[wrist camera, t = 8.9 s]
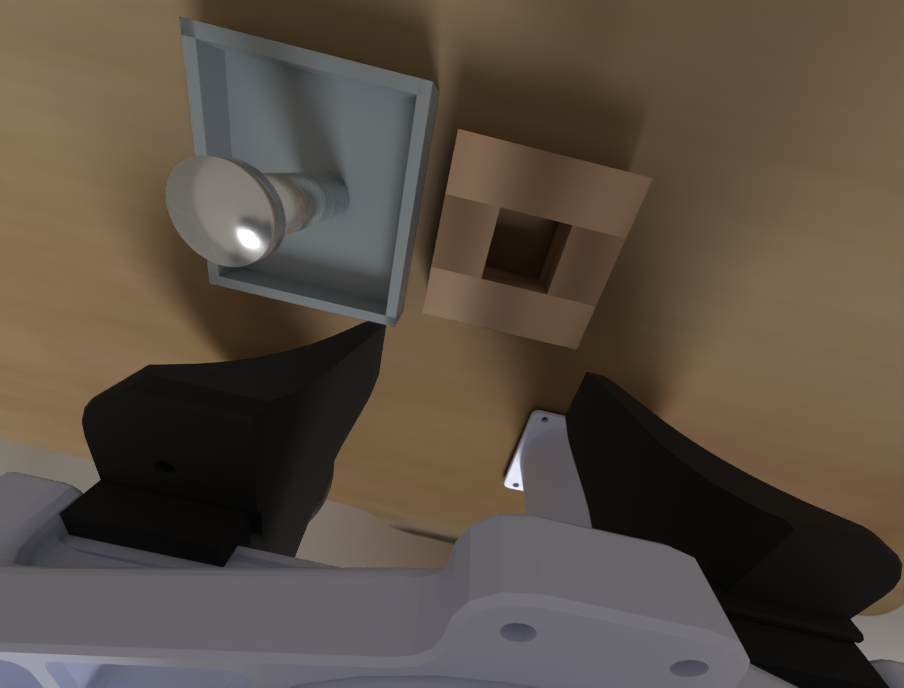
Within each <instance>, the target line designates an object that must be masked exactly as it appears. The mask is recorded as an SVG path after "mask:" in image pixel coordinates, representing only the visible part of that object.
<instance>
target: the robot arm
mask: <svg viewBox="0 0 904 688" xmlns="http://www.w3.org/2000/svg"><path fill="white" fill-rule="evenodd" d="M385 329H386V325H384V324H380V323H376V322H371V321H367V322H364V323H362V324H360V325H357V326H355V327H353V328H351V329H348V330H346V331H344V332H341V333H339V334H337V335H335V336H332V337H329V338H327V339H324V340H321V341H319V342H316V343H313V344H310V345H307V346H304V347H301V348H298V349H294V350H290V351H286V352H282V353H278V354H273V355H267V356H261V357H256V358H250V359H244V360H235V361H227V362H215V363H201V364H168V365H148V366H146V367H144V368H143V369H141V370H139V371H138V372H136V373H134V374H132V375H131V376H129V377H127V378H126V379H124V380H122V381H121V382H119V383H117V384H116V385H114V386H112V387H110V388H109V389H107V390H105V391H104V392H102V393H100V394H99V395H97V396H95V397H94V398H92V399H91V401H90V402H89V403H88V404H87V405H86V407H85V409H84V414H83V418H82V425H83V430H84V435H85V438H86V441H87V444H88V446H89V449H90V452H91V455H92V457H93V460H94V463H95V465H96V468H97V471H98V473H99V476H100V479H101V480H100V481H99V482H97V483H96V484H95V485H94V486H93V487H91V488H90V489H89V490H88V491H86V492H85V493H84V494H83V493H82V492H81V491H80V490H78V489H77V488H75V487H74V486H72V485H69V484H67V483H64V482H59V481H54V480H49V479H45V478H40V477H36V476H31V475H26V474H22V473H17V472H7V473H5V474H4V475H2V476H0V688H904V663H901V662H897V661H892V660H883V659H880V660H872V661H868V660H867V658H866V657H865V656H864V654H863V653H862V652H861V651H860V649H859V648H858V647H857V646H856V644H855V643H854V642H857V643H860V642H862V641H863V640H864V638H863V634H862V633H861V632H860V631H859V629H858V628H857V627H856V626H855V625H854V623H853V622H852V621H851V618H852V617H854V616H855V615H857V614H858V613H860V612H861V611H863V610H864V609H866V608H867V607H869V606H870V605H872V604H873V603H875V602H876V601H878V600H879V599H881V598H882V597H884V596H885V595H886V594H887V593H889V592H890V591H891V590H892V589H893V588H894V587H895V586H896V584H897V583H898V581H899V580H900V578H901V571H902V563H901V561H900V559H899V557H898V555H897V554H896V553H895V552H894V551H893V550H892V549H890V548H889V547H888V546H887V545H886V544H885V543H884V542H883V541H882V540H881V539H880V538H879V537H878V536H877V535H875V534H874V533H873V532H871V531H870V530H868V529H867V528H865V527H863V526H861V525H859V524H856V523H854V522H852V521H849V520H847V519H845V518H842V517H840V516H837V515H835V514H833V513H830V512H828V511H826V510H823V509H821V508H819V507H816V506H814V505H811V504H809V503H807V502H804V501H802V500H800V499H798V498H796V497H794V496H792V495H790V494H787V493H785V492H783V491H781V490H779V489H777V488H775V487H773V486H771V485H769V484H767V483H765V482H763V481H761V480H759V479H757V478H755V477H753V476H751V475H749V474H747V473H746V472H744V471H742V470H740V469H738V468H736V467H735V466H733V465H731V464H729V463H727V462H726V461H724V460H722V459H720V458H719V457H717V456H715V455H714V454H712V453H710V452H709V451H707V450H706V449H704V448H702V447H701V446H699V445H698V444H696V443H695V442H693V441H691V440H690V439H688V438H687V437H685V436H684V435H682V434H681V433H680V432H678V431H677V430H675V429H674V428H673V427H671V426H670V425H668V424H667V423H666V422H664V421H663V420H662V419H660V418H659V417H658V416H656V415H655V414H654V413H652V412H651V411H650V410H649V409H647V408H646V407H645V406H643V405H642V404H641V403H640V402H638V401H637V400H636V399H635V398H633V397H632V396H631V395H630V394H628V393H627V392H626V391H624V390H623V389H622V388H621V387H619V386H618V385H617V384H615V383H614V382H612V381H611V380H609V379H608V378H606V377H604V376H602V375H597V374H593V373H589V372H586V374H585V376H584V379H583V381H582V383H581V385H580V387H579V389H578V391H577V393H576V395H575V397H574V399H573V401H572V404H571V406H570V408H569V410H568V412H567V414H566V416H563V415H559V414H555V413H550V412H546V411H542V410H535V411H533V412H532V413H531V415H530V418H529V420H528V422H527V425H526V427H525V430H524V432H523V434H522V437H521V439H520V442H519V444H518V446H517V449H516V451H515V454H514V456H513V458H512V461H511V463H510V466H509V468H508V470H507V473H506V475H505V478H504V485H505V486H506V487H508V488H513V489H517V490H522V491H523V494H524V502H525V510H526V515H525V514H498V515H495V516H492V517H489V518H486V519H483V520H480V521H477V522H475V523H473V524H471V525H470V526H469V528H468V529H467V530H466V531H465V532H464V533H463V534H462V535H461V537H460V538H459V539H458V540H457V541H456V543H455V546H454V548H453V551H452V554H451V557H450V560H449V562H448V563H447V565H446V567H445V568H341V567H336V566H332V565H327V564H322V563H317V562H313V561H308V560H303V559H298V558H295V555H296V553H297V550H298V548H299V545H300V542H301V540H302V537H303V535H304V532H305V530H306V527H307V525H308V522H309V520H310V518H311V515H312V513H313V510H314V508H315V505H316V503H317V500H318V498H319V496H320V493H321V491H322V489H323V486H324V484H325V481H326V479H327V477H328V475H329V472H330V470H331V468H332V465H333V463H334V461H335V459H336V456H337V454H338V452H339V450H340V448H341V446H342V444H343V443H344V441H345V439H346V437H347V436H348V434H349V432H350V431H351V429H352V427H353V425H354V424H355V422H356V420H357V418H358V417H359V415H360V413H361V411H362V410H363V408H364V406H365V404H366V403H367V401H368V399H369V397H370V395H371V393H372V390H373V388H374V385H375V383H376V380H377V378H378V375H379V370H380V363H381V356H382V349H383V342H384V336H385ZM543 417H547V419H542V418H543Z"/></svg>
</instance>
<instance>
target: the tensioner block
mask: <svg viewBox="0 0 904 688" xmlns="http://www.w3.org/2000/svg"><path fill="white" fill-rule="evenodd" d="M652 180H653V178H650V177H646V176H643V175H639V174H635V173H631V172H627V171H623V170H619V169H615V168H611V167H607V166H603V165H599V164H595V163H591V162H587V161H583V160H579V159H575V158H571V157H568V156H564V155H560V154H556V153H552V152H548V151H544V150H540V149H536V148H532V147H528V146H524V145H520V144H516V143H512V142H508V141H504V140H500V139H496V138H493V137H489V136H485V135H481V134H477V133H473V132H469V131H465V130H461V129H458V132H457V137H456V142H455V147H454V152H453V157H452V163H451V168H450V173H449V178H448V183H447V188H446V193H445V198H444V204H443V209H442V214H441V219H440V224H439V229H438V234H437V239H436V245H435V250H434V255H433V260H432V265H431V270H430V275H429V281H428V286H427V291H426V296H425V301H424V306H423V311H422V313H423V314H428V315H432V316H436V317H440V318H445V319H449V320H453V321H457V322H462V323H466V324H470V325H474V326H478V327H483V328H487V329H491V330H495V331H500V332H504V333H508V334H512V335H517V336H521V337H525V338H529V339H533V340H538V341H542V342H546V343H550V344H555V345H559V346H563V347H567V348H572V349H576V350H577V348H578V346H579V343H580V341H581V339H582V337H583V334H584V332H585V330H586V328H587V326H588V323H589V321H590V319H591V317H592V314H593V312H594V310H595V308H596V305H597V303H598V301H599V299H600V296H601V294H602V292H603V290H604V287H605V285H606V283H607V281H608V279H609V276H610V274H611V272H612V270H613V267H614V265H615V263H616V261H617V258H618V256H619V254H620V252H621V249H622V247H623V245H624V243H625V240H626V238H627V236H628V234H629V232H630V229H631V227H632V225H633V223H634V220H635V218H636V216H637V214H638V211H639V209H640V207H641V205H642V202H643V200H644V198H645V196H646V193H647V191H648V189H649V187H650V184H651V182H652ZM500 207H501V208H505V209H509V210H513V211H517V212H521V213H525V214H529V215H533V216H537V217H541V218H545V219H549V220H553V221H557V222H558V225H557V228H556V231H555V234H554V237H553V240H552V242H551V245H550V248H549V251H548V254H547V257H546V260H545V262H544V265H543V268H542V271H541V274H540V277H539V278H535V277H531V276H526V275H522V274H518V273H514V272H510V271H506V270H502V269H497V268H493V267H489V266H485V263H486V259H487V255H488V251H489V248H490V244H491V240H492V236H493V233H494V229H495V225H496V222H497V218H498V214H499V210H500Z"/></svg>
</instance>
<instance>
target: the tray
mask: <svg viewBox="0 0 904 688" xmlns="http://www.w3.org/2000/svg"><path fill="white" fill-rule="evenodd" d="M179 18H180V26H181V35H182V44H183V53H184V62H185V71H186V79H187V88H188V97H189V106H190V115H191V124H192V133H193V141H194V150H195V156H197V155H207V156H227V157H233V158H237V159H240V160H242V161H245V162H247V163H249V164H250V165H252V166H254V167H255V168H256V169H258V170H259V171H260V172H261V173H278V172H330V173H333V174H335V175H337V176H338V177H339V178H341V179H342V180H343V182H344V183H345V185H346V186H347V189H348V191H349V197H350V202H349V206H348V209H347V211H346V212H345V213H344V214H343V215H342V216H340V217H338V218H335V219H332V220H329V221H326V222H323V223H320V224H318V225H315V226H312V227H309V228H306V229H303V230H300V231H297V232H294V233H291V234H288V235H285V236H284V238H283V240H282V242H281V244H280V246H279V247H278V249H277V250H276V251H275V252H274V253H273V254H271V255H269V256H268V257H266V258H263V259H261V260H258V261H256V262H253V263H251V264H249V265H246V266H242V267H227V266H222V265H219V264H216V263H213V262H211V261H209V260H207V265H208V274H209V283H210V284H213V285H217V286H221V287H226V288H230V289H234V290H238V291H243V292H247V293H251V294H255V295H260V296H264V297H268V298H273V299H277V300H281V301H285V302H290V303H294V304H298V305H302V306H307V307H311V308H315V309H319V310H324V311H328V312H332V313H336V314H341V315H345V316H349V317H354V318H358V319H362V320H366V321H371V322H376V323H380V324H384V325H388V326H392V327H395V325H396V323H397V321H398V319H399V318H400V316H401V314H402V312H403V308H404V302H405V296H406V290H407V284H408V278H409V272H410V266H411V260H412V254H413V248H414V242H415V236H416V230H417V224H418V218H419V212H420V206H421V200H422V194H423V188H424V182H425V176H426V170H427V164H428V158H429V152H430V146H431V140H432V134H433V128H434V122H435V116H436V110H437V104H438V98H439V91H438V90H437V88H436V86H435V84H434V83H433V81H429V80H425V79H421V78H417V77H413V76H409V75H405V74H401V73H398V72H394V71H390V70H386V69H382V68H378V67H374V66H370V65H366V64H362V63H359V62H355V61H351V60H347V59H343V58H339V57H335V56H331V55H327V54H324V53H320V52H316V51H312V50H308V49H304V48H300V47H296V46H292V45H289V44H285V43H281V42H277V41H273V40H269V39H265V38H261V37H257V36H254V35H250V34H246V33H242V32H238V31H234V30H230V29H226V28H222V27H218V26H215V25H211V24H207V23H203V22H199V21H195V20H191V19H187V18H183V17H180V16H179Z"/></svg>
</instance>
